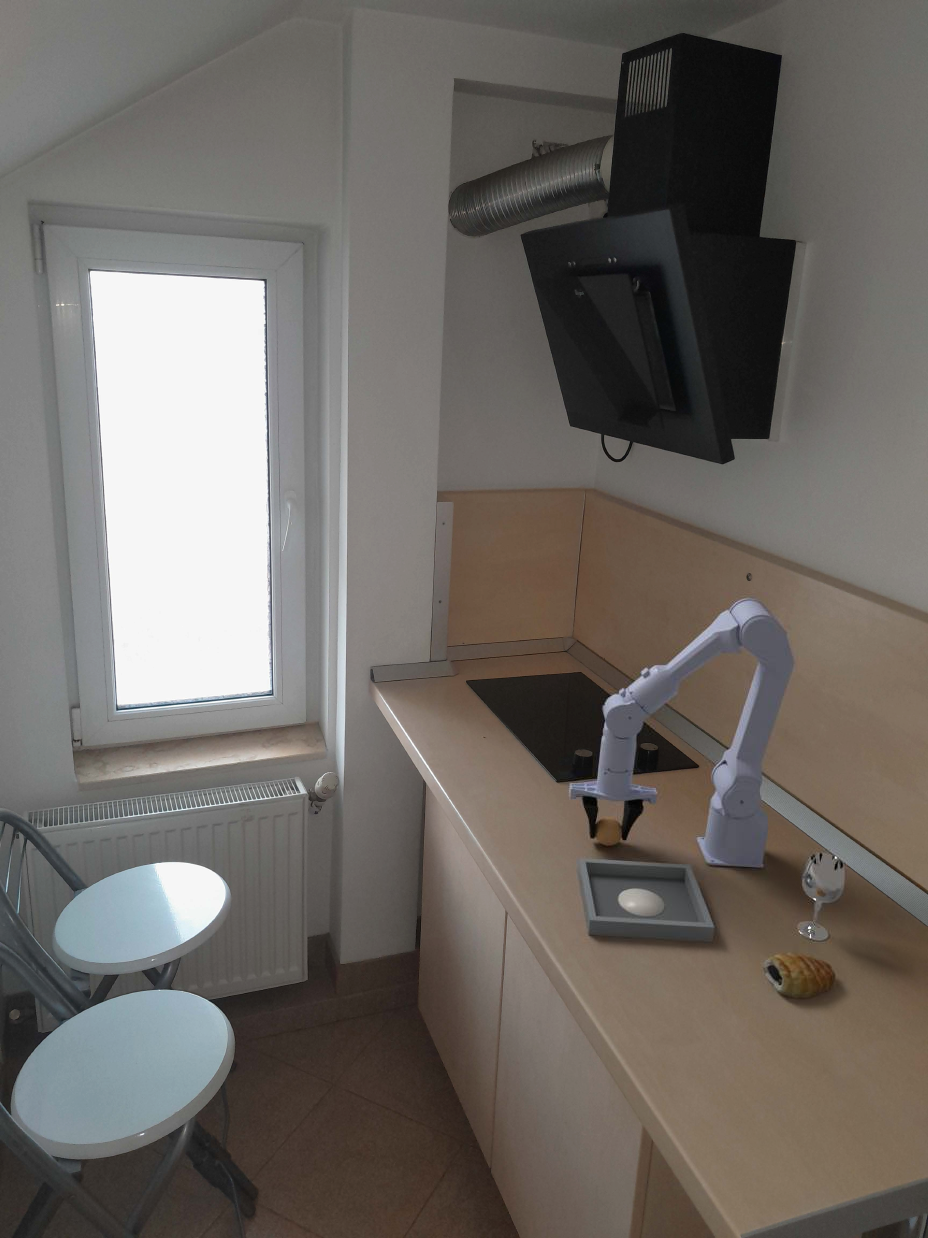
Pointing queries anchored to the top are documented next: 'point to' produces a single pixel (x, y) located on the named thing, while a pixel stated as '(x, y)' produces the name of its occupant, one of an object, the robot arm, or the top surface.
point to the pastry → (799, 975)
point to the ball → (608, 831)
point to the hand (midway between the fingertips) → (607, 836)
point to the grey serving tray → (643, 900)
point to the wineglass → (821, 889)
